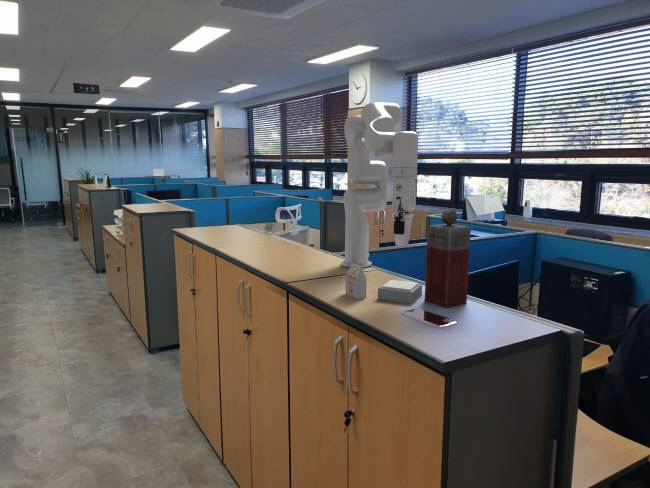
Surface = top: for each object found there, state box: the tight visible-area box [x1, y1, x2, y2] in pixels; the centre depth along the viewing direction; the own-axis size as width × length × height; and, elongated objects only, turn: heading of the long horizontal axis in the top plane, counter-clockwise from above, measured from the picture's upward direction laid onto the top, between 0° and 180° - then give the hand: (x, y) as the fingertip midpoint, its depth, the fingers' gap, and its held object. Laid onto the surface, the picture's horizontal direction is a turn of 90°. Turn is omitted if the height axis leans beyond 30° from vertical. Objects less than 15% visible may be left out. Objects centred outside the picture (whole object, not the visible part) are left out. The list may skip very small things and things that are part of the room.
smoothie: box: [391, 210, 414, 247], centre depth 145 cm, size 6×6×14 cm
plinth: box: [377, 279, 423, 305], centre depth 149 cm, size 11×11×4 cm
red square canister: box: [424, 209, 472, 309], centre depth 142 cm, size 9×11×28 cm
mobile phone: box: [399, 307, 459, 329], centre depth 128 cm, size 8×1×15 cm
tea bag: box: [345, 263, 367, 300], centre depth 149 cm, size 4×7×10 cm, turn 26°
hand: (402, 232), depth 145 cm, fingers closed on smoothie, 6 cm apart
